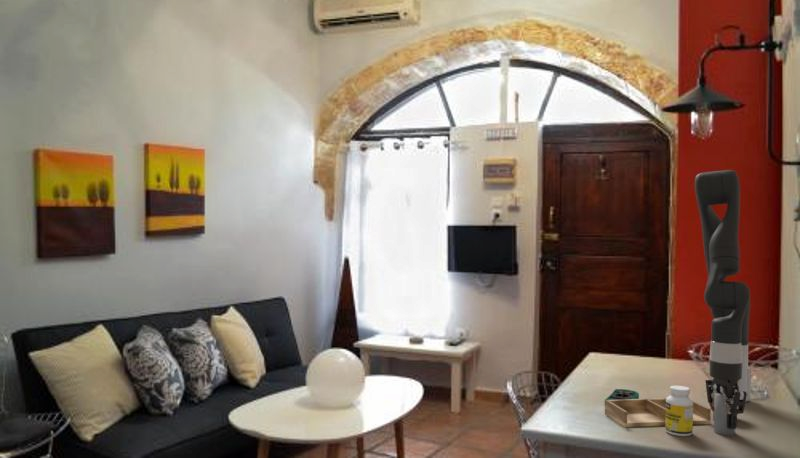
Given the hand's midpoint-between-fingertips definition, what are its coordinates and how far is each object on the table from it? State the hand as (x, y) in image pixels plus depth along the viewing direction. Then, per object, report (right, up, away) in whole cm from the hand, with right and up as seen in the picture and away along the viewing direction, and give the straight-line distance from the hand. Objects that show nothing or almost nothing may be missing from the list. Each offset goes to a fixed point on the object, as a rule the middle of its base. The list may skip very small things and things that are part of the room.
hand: (724, 425), depth 174 cm
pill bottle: (-12, -2, -1) cm, 12 cm away
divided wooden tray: (-13, -2, +11) cm, 17 cm away
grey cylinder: (0, -2, 0) cm, 2 cm away
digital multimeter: (-17, -2, +28) cm, 33 cm away
